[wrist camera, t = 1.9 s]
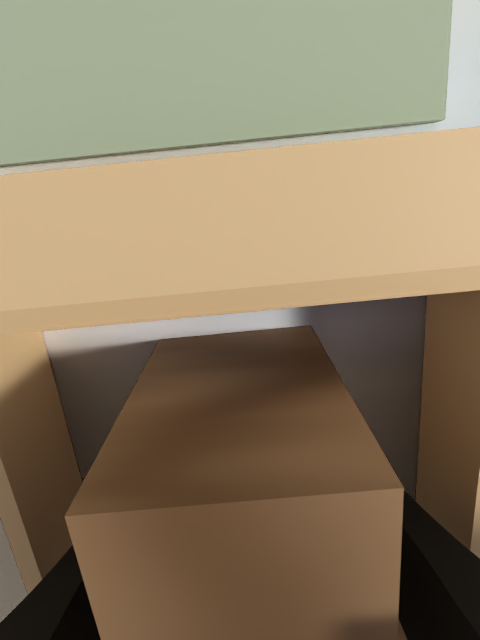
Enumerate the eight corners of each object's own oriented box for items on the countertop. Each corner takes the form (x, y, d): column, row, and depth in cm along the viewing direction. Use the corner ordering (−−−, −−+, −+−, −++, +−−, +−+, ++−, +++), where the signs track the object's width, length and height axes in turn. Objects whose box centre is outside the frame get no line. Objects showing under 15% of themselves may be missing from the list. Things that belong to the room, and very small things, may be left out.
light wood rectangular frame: (455, 142, 10) (548, 119, 7) (419, 658, 15) (460, 762, 13) (-16, 189, 10) (-120, 187, 7) (123, 680, 16) (98, 788, 13)
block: (310, 325, 11) (403, 488, 5) (320, 581, 14) (387, 880, 8) (159, 339, 11) (64, 516, 5) (202, 591, 14) (176, 894, 8)
